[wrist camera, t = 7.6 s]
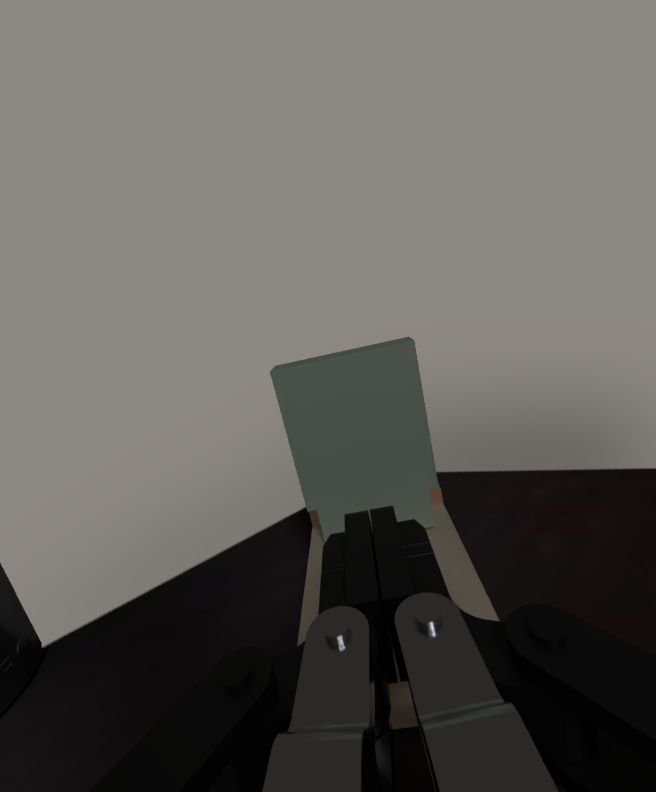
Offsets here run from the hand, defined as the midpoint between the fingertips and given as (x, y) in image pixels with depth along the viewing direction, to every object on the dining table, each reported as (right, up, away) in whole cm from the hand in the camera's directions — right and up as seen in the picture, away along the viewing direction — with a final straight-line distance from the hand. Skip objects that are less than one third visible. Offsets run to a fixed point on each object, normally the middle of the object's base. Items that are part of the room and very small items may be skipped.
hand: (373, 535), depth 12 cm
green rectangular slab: (+1, -3, +10) cm, 11 cm away
